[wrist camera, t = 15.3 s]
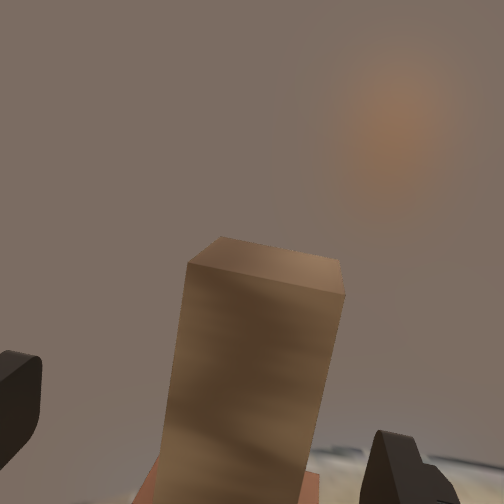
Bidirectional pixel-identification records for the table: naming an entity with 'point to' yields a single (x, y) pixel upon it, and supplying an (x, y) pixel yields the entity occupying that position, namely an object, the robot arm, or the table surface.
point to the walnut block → (247, 374)
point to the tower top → (306, 500)
